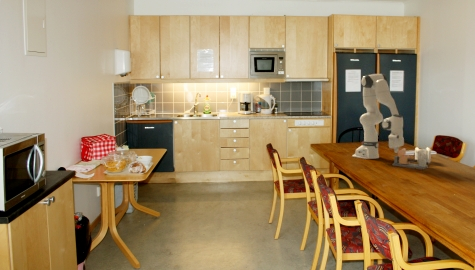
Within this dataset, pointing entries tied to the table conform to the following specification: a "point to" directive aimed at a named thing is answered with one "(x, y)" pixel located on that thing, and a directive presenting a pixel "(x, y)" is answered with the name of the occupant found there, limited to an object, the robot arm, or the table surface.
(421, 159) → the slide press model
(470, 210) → the table surface
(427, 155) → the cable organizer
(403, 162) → the orange piece
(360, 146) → the robot arm
